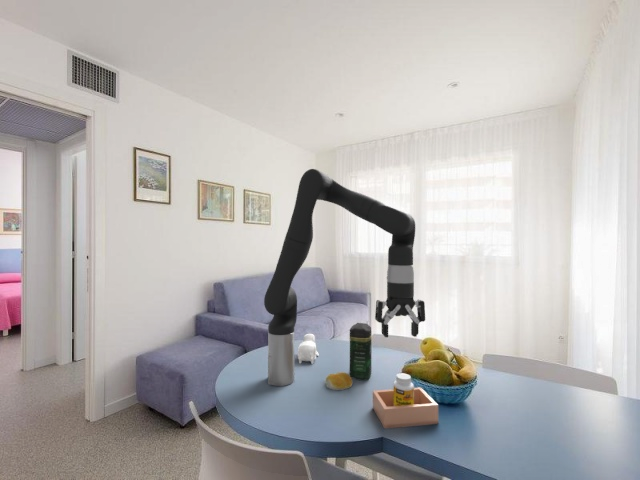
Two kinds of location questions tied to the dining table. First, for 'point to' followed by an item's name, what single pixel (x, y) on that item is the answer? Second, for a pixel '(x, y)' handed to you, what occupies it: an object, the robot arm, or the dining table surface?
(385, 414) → the open box
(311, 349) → the white animal figurine
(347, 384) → the bread roll
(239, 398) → the dining table surface
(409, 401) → the supplement bottle
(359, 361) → the coffee jar
